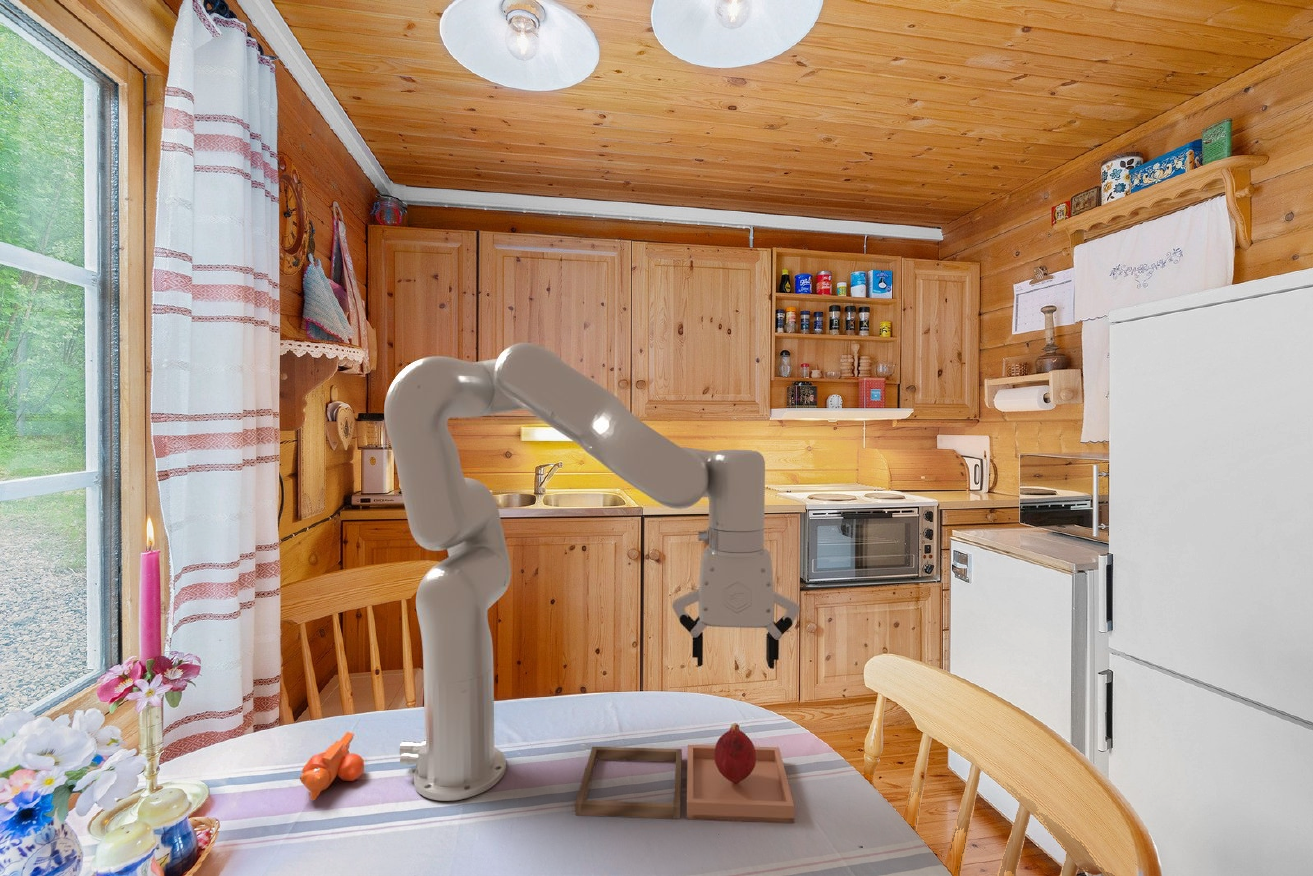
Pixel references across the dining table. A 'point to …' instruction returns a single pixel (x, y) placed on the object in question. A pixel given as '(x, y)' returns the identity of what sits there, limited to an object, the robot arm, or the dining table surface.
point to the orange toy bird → (332, 766)
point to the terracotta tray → (738, 789)
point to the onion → (735, 755)
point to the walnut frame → (621, 806)
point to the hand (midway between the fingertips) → (734, 663)
